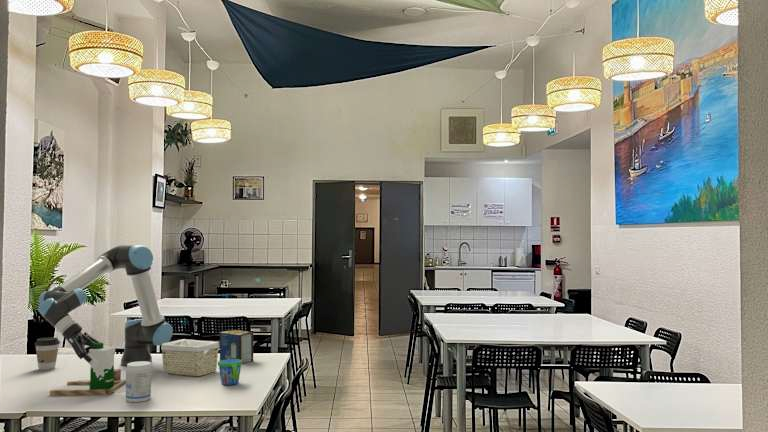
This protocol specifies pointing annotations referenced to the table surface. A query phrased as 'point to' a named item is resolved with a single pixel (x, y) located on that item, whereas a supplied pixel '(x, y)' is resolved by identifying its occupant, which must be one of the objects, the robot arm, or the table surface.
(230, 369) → the snack cup
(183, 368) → the storage basket
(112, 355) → the soya milk
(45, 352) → the coffee cup
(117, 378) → the walnut cube
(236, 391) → the table surface
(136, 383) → the supplement tub
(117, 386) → the lane
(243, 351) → the protein box
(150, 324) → the robot arm
